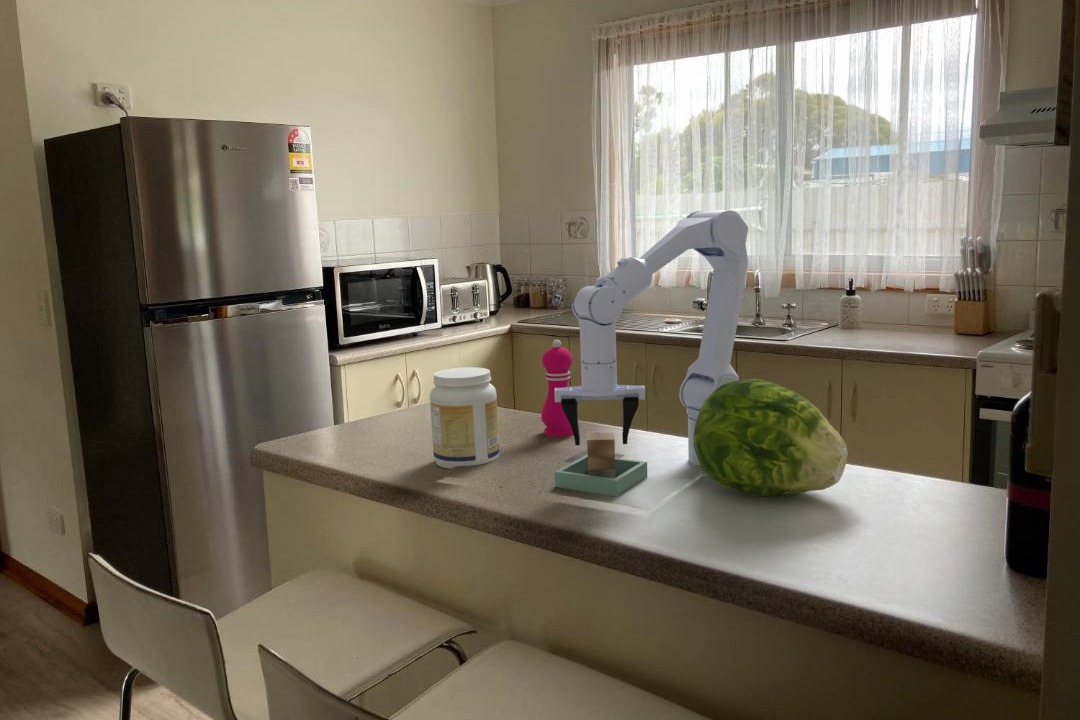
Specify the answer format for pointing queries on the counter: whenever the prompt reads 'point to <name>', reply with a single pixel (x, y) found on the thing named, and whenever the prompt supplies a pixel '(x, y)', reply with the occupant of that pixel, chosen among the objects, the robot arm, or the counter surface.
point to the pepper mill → (557, 376)
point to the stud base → (586, 454)
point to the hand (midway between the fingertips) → (601, 443)
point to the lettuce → (767, 440)
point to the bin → (577, 480)
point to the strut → (601, 454)
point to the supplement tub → (464, 417)
